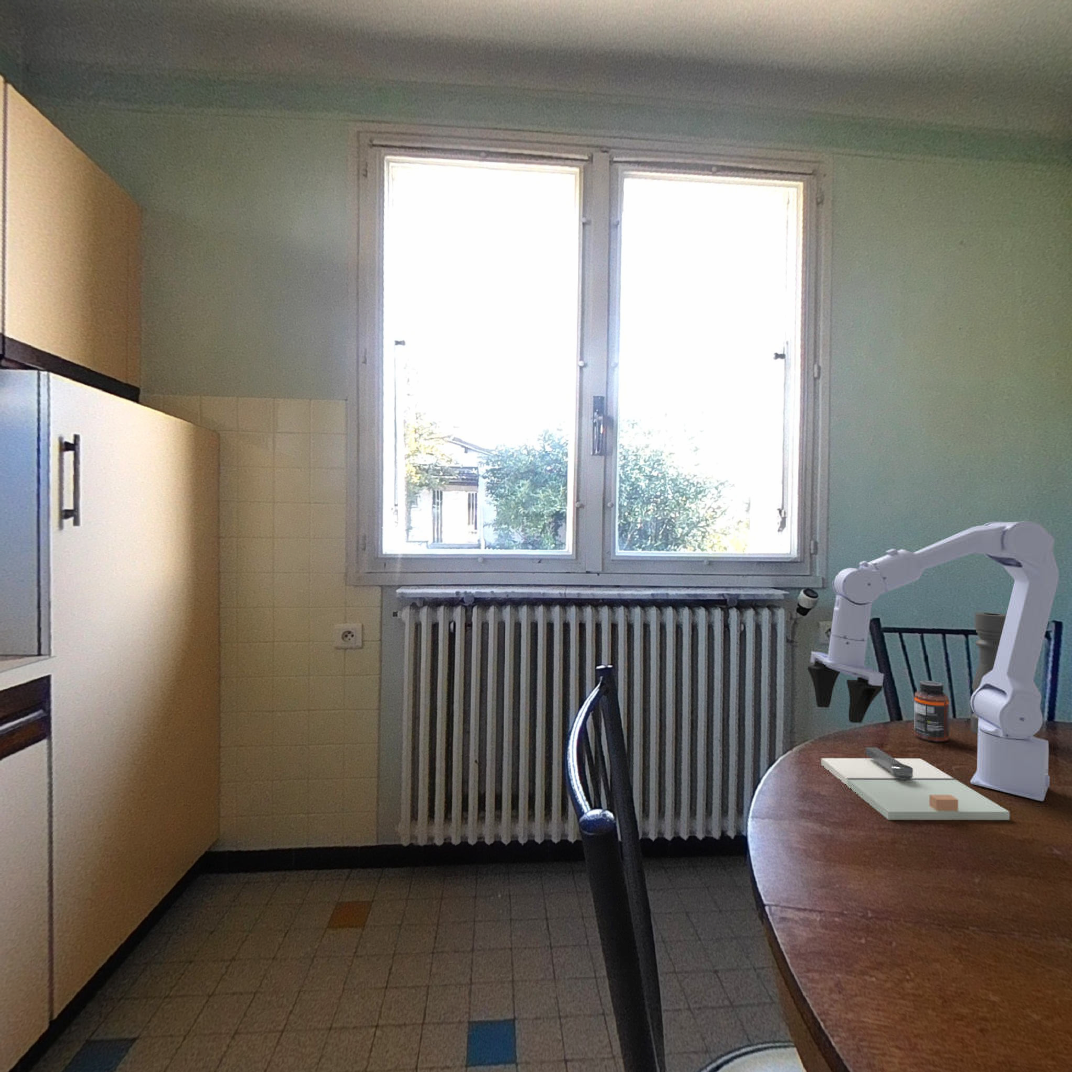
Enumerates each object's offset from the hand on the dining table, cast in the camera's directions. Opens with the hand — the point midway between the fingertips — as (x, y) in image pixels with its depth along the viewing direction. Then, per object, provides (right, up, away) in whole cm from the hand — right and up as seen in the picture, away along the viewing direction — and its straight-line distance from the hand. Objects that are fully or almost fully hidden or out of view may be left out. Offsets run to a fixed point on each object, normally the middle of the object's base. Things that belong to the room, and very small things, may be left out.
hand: (838, 714), depth 106 cm
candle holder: (+42, -11, +22) cm, 48 cm away
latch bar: (+8, -8, -1) cm, 12 cm away
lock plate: (+8, -11, -6) cm, 15 cm away
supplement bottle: (+28, -10, +19) cm, 35 cm away
